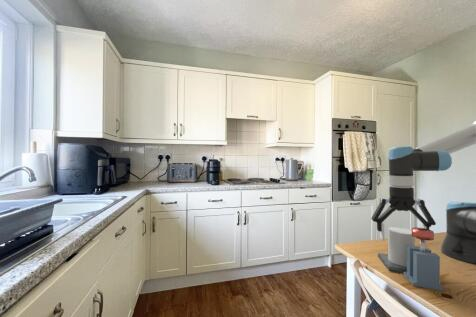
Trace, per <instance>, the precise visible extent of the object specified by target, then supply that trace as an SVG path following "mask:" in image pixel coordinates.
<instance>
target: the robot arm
mask: <svg viewBox="0 0 476 317" xmlns="http://www.w3.org/2000/svg"><path fill="white" fill-rule="evenodd" d="M473 145H476V120H475V121H473V122H472V124H471V125H469V126H467V127H464V128H462V129H460V130H456V131H455V132H452V133H449V134H447V135H444V136H442V137H440V138H438V139H435V140H432V141H430V142H427V143H425V144H422V145H420V146H418V147H415V148H413V146H394V147H393V146H391V147H390V148H389V149H388V157H387V158H388V173H389V174H388V184H389V189H388V190H389V192H388V193H389V198H384V197H380V199H379V204H378V205H377V207H376V208H375V211H374V212H373V214H372V216H371V218H370V219H371V220H372V222H375V223H376V230H377V231H378V232H379V239H380V240H381V241H382V242H385V223H384V222H385V220H386V219H387V218H389V216H391V215H392V213H394V212H395V211H398V212H401V211H404V212H411V214H413V216H414V217H416V219H418V221H419V222H421V224H419V228H424V229H429V230H430V228H431V227H432V226H436V224H437V222H436V221H435V220H434V218H433V216H432V215H431V213H430V211H429V210H428V208H427V206H426V202H425V200H424V199H421V198H417V199H415V192H414V190H415V189H414V188H413V187H414V172H422V171H423V172H441V171H447V170H449V169H450V168H451V167H452V164H453V161H452V160H453V158H452V156H451V154H453V153H456V152H458V151H461V150H462V149H463V150H464V149H465V148H468V147H469V148H470V147H471V146H473ZM388 204H390V205H389V206H388V207H387V208H386V210H384V208H385V206H386V205H388ZM414 205H417V206H418V207H419V209H420V211H421V212H422V214H423V216H424V217H425V218H424V217H423V216H422V215H421V214H420V213H419V212H418V211H417V209H415V208H414V207H413V206H414ZM445 211H446V216H445V217H446V218H445V219H446V235H445V237H444V239H443V241H442V243H441V245H440V251H441V253H442V254H444V255H446V256H447V257H450V258H453V259H456V260H459V261H462V262H467V263H471V264H476V202H467V201H465V202H464V201H449V202H448V203H447V204H446V208H445ZM425 245H428V240H425Z"/></svg>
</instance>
